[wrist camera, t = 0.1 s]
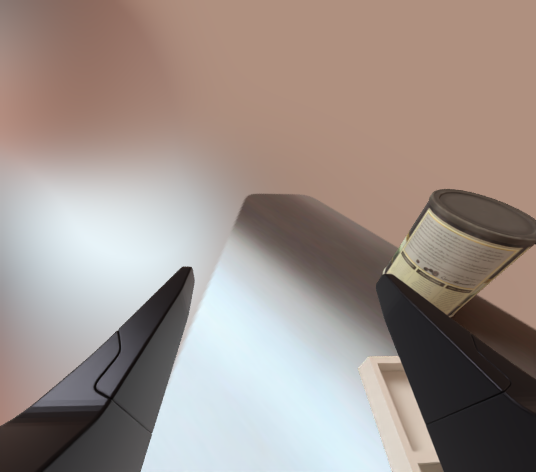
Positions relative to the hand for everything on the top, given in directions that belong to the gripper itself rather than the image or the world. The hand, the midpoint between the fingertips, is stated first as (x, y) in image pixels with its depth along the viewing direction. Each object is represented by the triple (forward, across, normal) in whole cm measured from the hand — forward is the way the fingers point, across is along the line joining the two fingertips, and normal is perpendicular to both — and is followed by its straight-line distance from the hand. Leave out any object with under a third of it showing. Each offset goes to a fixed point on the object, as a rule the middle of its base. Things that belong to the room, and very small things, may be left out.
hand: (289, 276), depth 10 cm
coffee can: (+13, -24, +17) cm, 32 cm away
